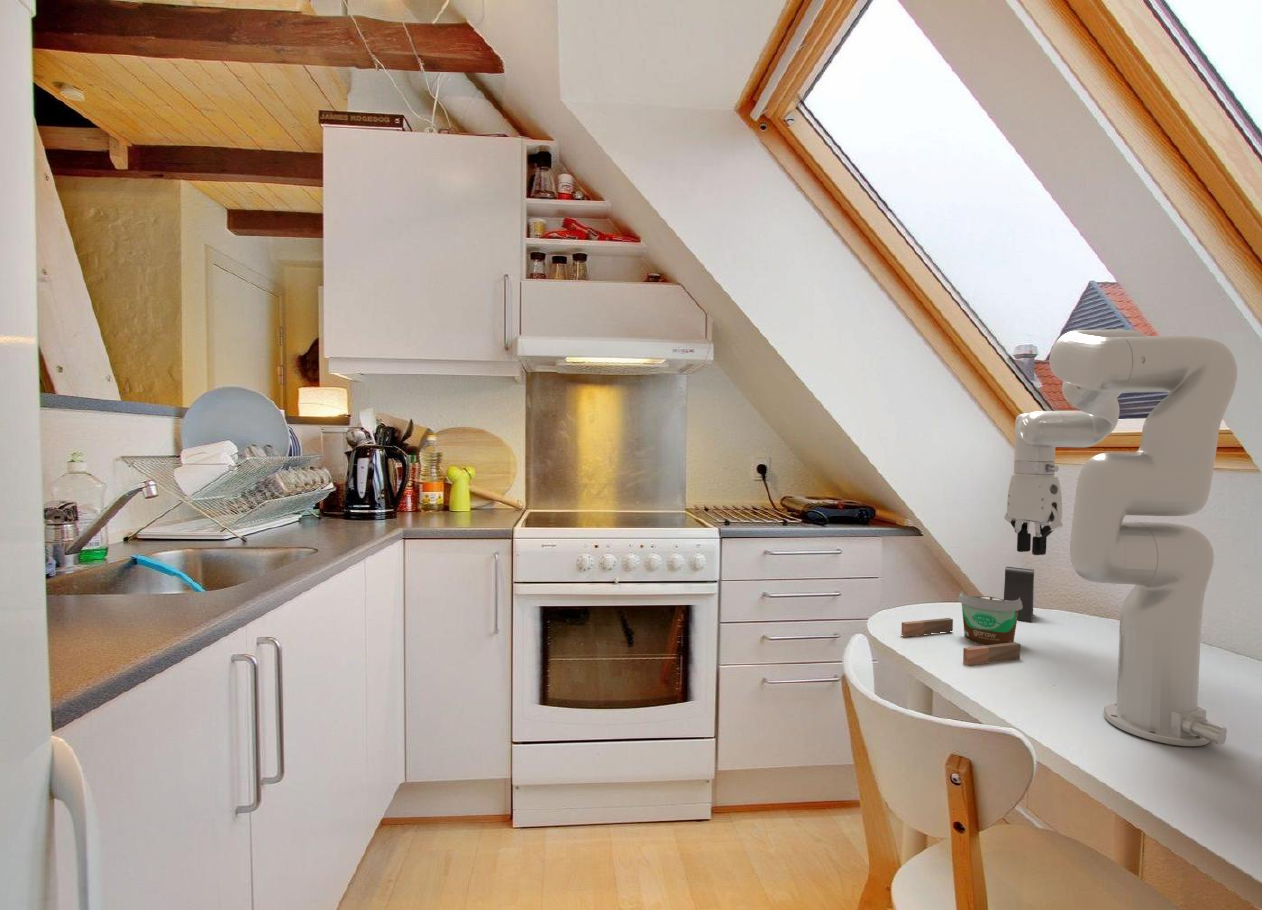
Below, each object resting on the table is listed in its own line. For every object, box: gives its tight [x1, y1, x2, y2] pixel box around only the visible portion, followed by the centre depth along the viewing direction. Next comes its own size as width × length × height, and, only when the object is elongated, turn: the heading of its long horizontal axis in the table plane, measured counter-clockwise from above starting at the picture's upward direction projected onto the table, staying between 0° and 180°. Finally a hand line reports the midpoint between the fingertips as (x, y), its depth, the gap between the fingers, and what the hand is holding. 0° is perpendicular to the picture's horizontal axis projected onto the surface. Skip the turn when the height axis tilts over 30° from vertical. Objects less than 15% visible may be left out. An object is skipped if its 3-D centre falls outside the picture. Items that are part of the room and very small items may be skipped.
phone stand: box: [1003, 566, 1035, 623], centre depth 156 cm, size 9×6×12 cm, turn 145°
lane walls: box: [900, 617, 1021, 666], centre depth 133 cm, size 18×13×3 cm
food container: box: [957, 590, 1023, 646], centre depth 135 cm, size 12×6×10 cm, turn 62°
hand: (1031, 552), depth 138 cm, fingers open, 3 cm apart
